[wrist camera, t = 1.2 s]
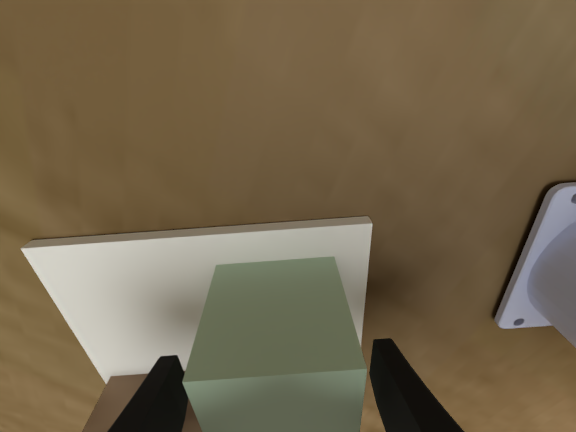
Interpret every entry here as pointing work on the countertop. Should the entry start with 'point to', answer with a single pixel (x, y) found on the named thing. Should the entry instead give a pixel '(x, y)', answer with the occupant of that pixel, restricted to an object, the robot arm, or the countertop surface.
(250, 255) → the white rectangular board
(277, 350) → the sage cube
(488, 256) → the countertop surface
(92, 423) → the walnut base
